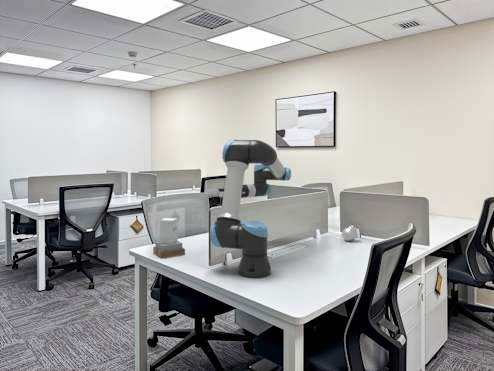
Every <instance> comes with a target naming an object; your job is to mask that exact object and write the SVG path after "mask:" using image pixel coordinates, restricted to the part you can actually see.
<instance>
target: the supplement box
mask: <svg viewBox="0 0 494 371" xmlns="http://www.w3.org/2000/svg"><path fill="white" fill-rule="evenodd" d="M159 241H160V243H165V244H173V243H174V242H176V241H178V217H177V218H176V217H175V218H174V217H164V218H162V219H160V220H159Z"/></svg>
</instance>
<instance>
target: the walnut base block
mask: <svg viewBox="0 0 494 371" xmlns="http://www.w3.org/2000/svg"><path fill="white" fill-rule="evenodd" d="M152 249H153V250H152V253H153V254H154V255H155V256H156V257H158V258H160V259H163V258H164V259H169V258H175V257H181V256H185V255H186V249H185V248H184V247H182V249H177V250H171V251H164V252H162V251H161V250H159V249H158V248H156V247H155V246H153V247H152ZM164 259H163V260H164Z"/></svg>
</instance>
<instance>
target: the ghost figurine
mask: <svg viewBox="0 0 494 371" xmlns="http://www.w3.org/2000/svg"><path fill="white" fill-rule="evenodd" d="M357 231H358V230H357V228H356V226H354V225H352V224H351V225H349V226H348V227H344V229H343V230H342V232H341V237H342V239H343V240H345V241H347V242H353V241H355V239H357V238H358V237H359V235H358V232H357Z"/></svg>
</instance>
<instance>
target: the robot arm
mask: <svg viewBox="0 0 494 371" xmlns="http://www.w3.org/2000/svg"><path fill="white" fill-rule="evenodd" d="M222 161H223V162H224V163H225V167H226V168H227V170H226V177H225V184H224V188H214V189H212V188H211V189H210V188H209V189H207V194H208V195H218V197H219V198H222V204H221V210H220V214H219V215H218V216H217V217H216V221H212V223H211V225H210V230H209V236H210V241H211V243H212V245H213V246H214V247H217V248H222V249H234V250H241V258H240V262H239V265H238V268H237V274H239V275H240V276H242V277H244V278H245V277H246V278H256V279H257V278H264V277H269V275H271V272H272V268H271V264H270V262H269V257H268V235H269V234H268V227H267V225H266V224H264V222H260V221H255V220H244V221H242V220H241V219H240V217H239V215H240V214H239V213H240V208H241V199H242V198H245V199H246V198H249V199H251V198H256V197H257V198H258V197H266V196H268V195H270V194H271V186H270V184H269V183H267V181H284V182H285V181H290V180H291V178H292V169H291V168H290V167H284V165H283V164H282V162H281V161H280V159H279V158H278V153H277V151H276V150H275V149H274V147H272V146H271V145H270V144H268V143H267V142H265V141H262V140H258V139H231V140H230V139H229V140H228V141H227V142H225V143H224V146H223V148H222ZM251 164H253V165H254V167H253V183H247V184H244V180H245V171H246V170H248V169H249V165H251Z"/></svg>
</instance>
